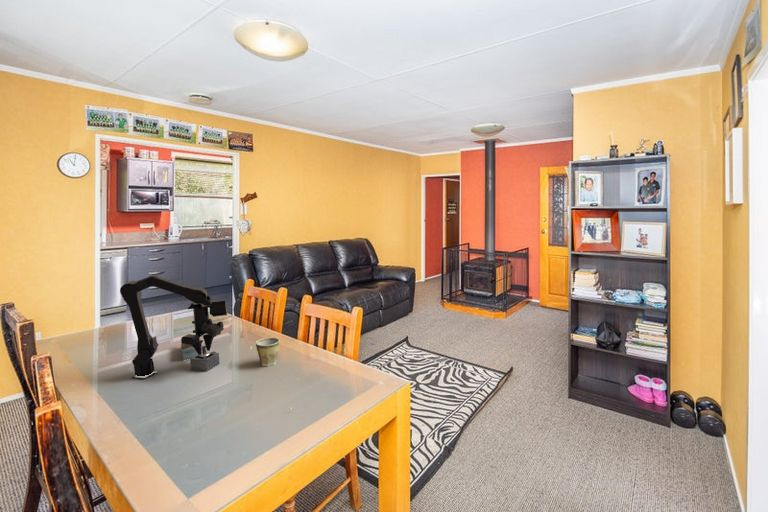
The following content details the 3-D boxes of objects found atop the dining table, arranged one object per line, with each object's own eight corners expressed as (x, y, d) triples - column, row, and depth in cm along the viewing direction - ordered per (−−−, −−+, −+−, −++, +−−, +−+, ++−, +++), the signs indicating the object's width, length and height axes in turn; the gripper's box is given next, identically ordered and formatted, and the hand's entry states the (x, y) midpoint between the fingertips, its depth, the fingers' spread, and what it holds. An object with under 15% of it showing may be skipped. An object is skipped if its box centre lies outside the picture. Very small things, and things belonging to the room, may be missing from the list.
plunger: (206, 368, 164) (204, 349, 163) (196, 367, 165) (194, 348, 164) (214, 363, 169) (212, 344, 168) (204, 362, 170) (203, 344, 169)
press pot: (206, 371, 162) (205, 360, 162) (191, 369, 164) (190, 358, 164) (222, 362, 172) (221, 351, 171) (207, 360, 174) (206, 350, 173)
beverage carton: (181, 361, 174) (180, 347, 173) (182, 348, 191) (181, 335, 190) (201, 358, 177) (200, 344, 177) (199, 345, 194) (198, 332, 194)
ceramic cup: (273, 368, 164) (272, 346, 162) (252, 367, 166) (251, 344, 164) (287, 357, 176) (286, 335, 175) (267, 355, 178) (266, 334, 177)
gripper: (201, 325, 153) (204, 363, 155) (231, 312, 171) (234, 346, 173) (178, 323, 156) (181, 360, 158) (210, 311, 174) (213, 344, 176)
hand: (204, 352), depth 166 cm, fingers open, 5 cm apart
